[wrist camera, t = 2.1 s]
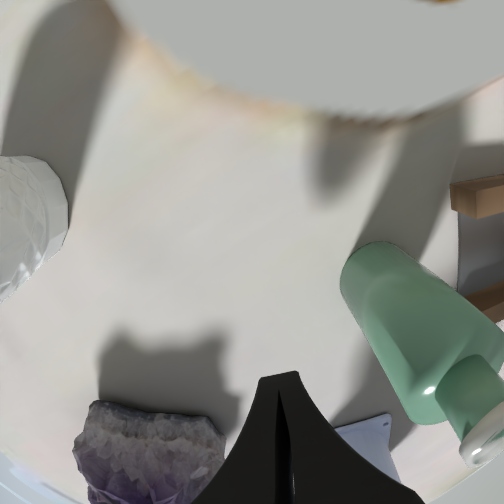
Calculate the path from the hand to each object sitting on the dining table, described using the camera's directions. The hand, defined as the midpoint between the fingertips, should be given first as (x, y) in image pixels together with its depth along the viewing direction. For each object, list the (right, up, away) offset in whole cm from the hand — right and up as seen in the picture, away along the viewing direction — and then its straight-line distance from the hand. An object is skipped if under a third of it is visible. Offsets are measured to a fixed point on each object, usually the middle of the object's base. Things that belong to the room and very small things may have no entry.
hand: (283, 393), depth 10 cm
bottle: (+6, +4, +6) cm, 9 cm away
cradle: (+16, +6, +5) cm, 18 cm away
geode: (-10, -14, +12) cm, 21 cm away
